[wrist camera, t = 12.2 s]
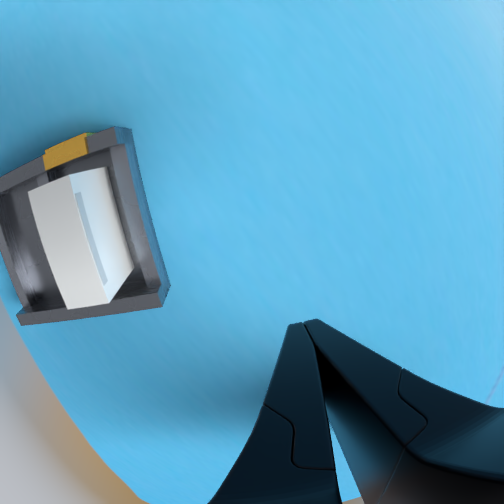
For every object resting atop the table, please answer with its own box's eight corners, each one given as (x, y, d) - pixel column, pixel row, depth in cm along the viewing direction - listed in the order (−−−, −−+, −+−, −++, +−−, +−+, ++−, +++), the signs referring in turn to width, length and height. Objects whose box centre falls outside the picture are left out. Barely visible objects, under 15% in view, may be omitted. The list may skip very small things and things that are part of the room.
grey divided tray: (130, 124, 16) (112, 121, 14) (170, 285, 20) (161, 308, 17) (-4, 182, 16) (-28, 189, 13) (38, 307, 20) (20, 326, 17)
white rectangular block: (107, 166, 17) (69, 174, 12) (135, 267, 19) (109, 303, 14) (69, 179, 17) (27, 192, 12) (97, 274, 19) (67, 309, 14)
